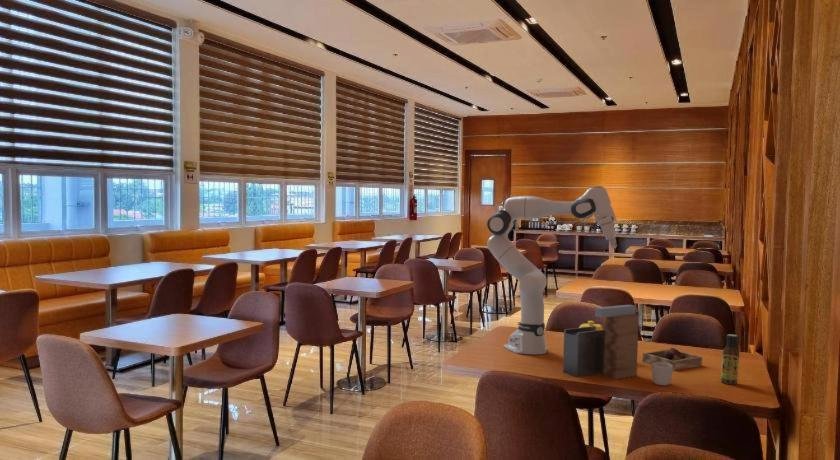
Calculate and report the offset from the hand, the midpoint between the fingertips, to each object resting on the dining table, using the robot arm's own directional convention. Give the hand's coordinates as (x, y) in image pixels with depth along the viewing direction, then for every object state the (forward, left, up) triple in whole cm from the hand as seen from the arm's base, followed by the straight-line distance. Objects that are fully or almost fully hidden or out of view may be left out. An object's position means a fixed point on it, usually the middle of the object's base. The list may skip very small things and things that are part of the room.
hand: (615, 248), depth 297 cm
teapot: (-24, +13, -52) cm, 59 cm away
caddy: (+18, +19, -52) cm, 58 cm away
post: (+22, -18, -52) cm, 59 cm away
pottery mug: (+18, +19, -52) cm, 59 cm away
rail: (+22, -22, -26) cm, 40 cm away
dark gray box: (+11, -28, -52) cm, 60 cm away
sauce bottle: (+50, +14, -52) cm, 74 cm away
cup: (+37, -12, -52) cm, 65 cm away
